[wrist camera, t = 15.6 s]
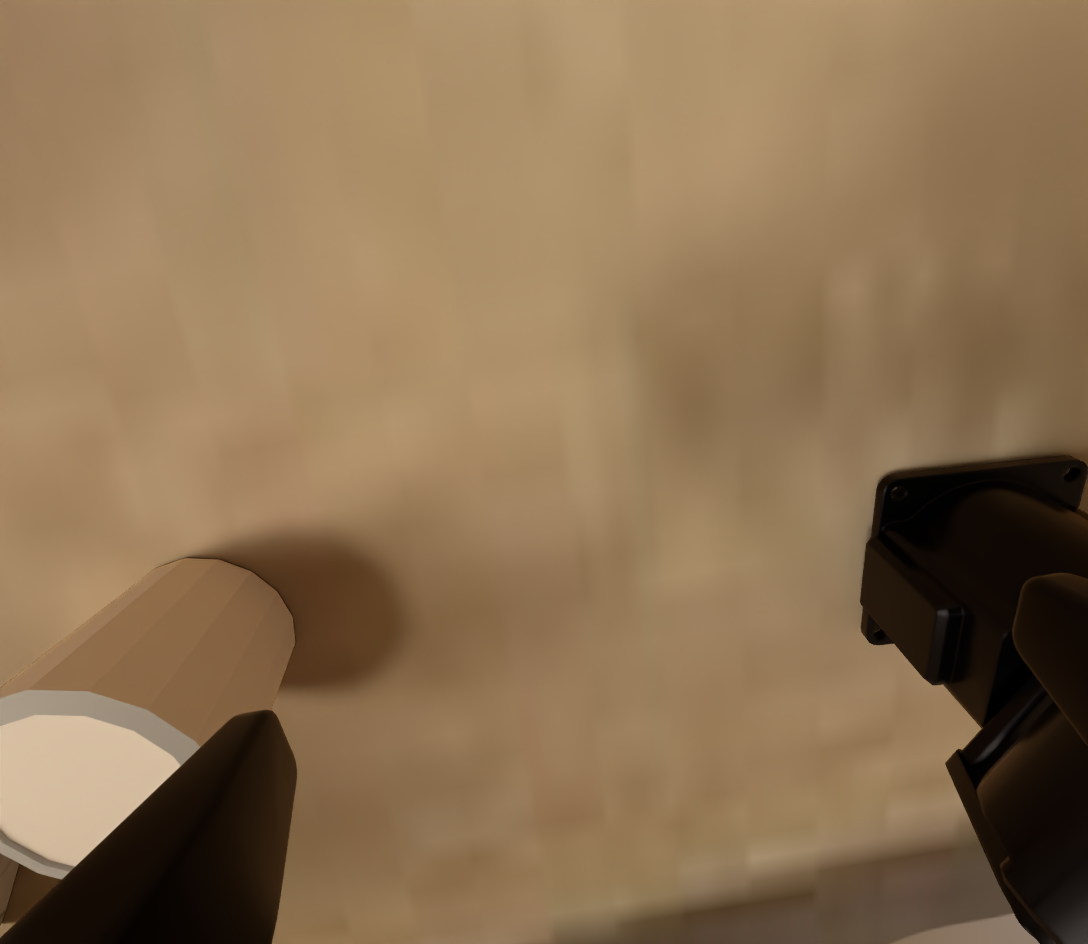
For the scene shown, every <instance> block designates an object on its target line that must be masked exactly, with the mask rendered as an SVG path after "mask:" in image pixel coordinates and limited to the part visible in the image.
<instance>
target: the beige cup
mask: <svg viewBox="0 0 1088 944" xmlns="http://www.w3.org/2000/svg"><path fill="white" fill-rule="evenodd" d="M295 643H296V642H295V634H294V625H293V617H292V615H291V613H290V612H289V610H288V608H287V607H286V605H285V604H284V602H283V600H282V599H281V597H280V595H279V594H278V592H277V591H276V590H274V589H273V588H272V587H271V586H269V585H268V584H267V583H266V582H264V581H263V580H262V579H260V578H259V577H258V576H257V575H255V574H254V573H253V572H251V571H249V570H246V569H243V568H241V567H238V566H235V565H232V564H230V563H227V562H224V561H222V560H219V559H191V558H184V559H181V560H178V561H175V562H172V563H169V564H166V565H163V566H160V567H157V568H155V569H154V570H152V571H151V572H150V573H148V574H147V575H146V576H145V577H143V578H142V579H141V580H139V581H138V582H137V583H136V584H134V585H133V586H132V587H130V588H129V589H128V590H126V591H125V592H124V593H123V594H121V595H120V596H119V597H117V598H116V599H115V600H114V601H112V602H111V603H110V604H108V605H107V606H106V607H104V608H103V609H102V610H101V611H99V612H98V613H97V614H95V615H94V616H93V617H92V618H90V619H89V620H88V621H86V622H85V623H84V624H82V625H81V626H80V627H79V628H77V629H76V630H75V631H73V632H72V633H71V634H70V635H68V636H67V637H66V638H64V639H63V640H62V641H60V642H59V643H58V644H57V645H55V646H54V647H53V648H51V649H50V650H49V651H48V652H46V653H45V654H44V655H42V656H41V657H40V658H38V659H37V660H36V661H35V662H33V663H32V664H31V665H29V666H28V667H27V668H26V669H24V670H23V671H22V672H20V673H19V674H18V675H16V676H15V677H14V678H13V679H11V680H10V681H9V682H7V683H6V684H5V685H4V686H2V687H1V688H0V853H1V854H3V855H4V856H6V857H8V858H10V859H12V860H14V861H16V862H18V863H20V864H21V865H23V866H25V867H27V868H29V869H31V870H33V871H35V872H36V873H38V874H42V875H46V876H50V877H54V878H58V879H63V878H64V877H65V876H66V875H67V874H68V873H69V872H70V871H71V870H72V869H73V868H74V867H75V866H76V865H77V864H78V863H79V862H80V861H81V860H83V859H84V858H85V857H86V856H87V855H88V854H89V853H90V852H91V851H92V850H93V849H94V848H95V847H96V846H97V845H98V844H99V843H100V842H101V841H102V840H104V839H105V838H106V837H107V836H108V835H109V834H110V833H111V832H112V831H113V830H114V829H115V828H116V827H117V826H118V825H119V824H120V823H121V822H122V821H123V820H125V819H126V818H127V817H128V816H129V815H130V814H131V813H132V812H133V811H134V810H135V809H136V808H137V807H138V806H139V805H140V804H141V803H142V802H143V801H144V800H146V799H147V798H148V797H149V796H150V795H151V794H152V793H153V792H154V791H155V790H156V789H157V788H158V787H159V786H160V785H161V784H162V783H163V782H164V781H165V780H167V779H168V778H169V777H170V776H171V775H172V774H173V773H174V772H175V771H176V770H177V769H178V768H179V767H180V766H181V765H182V764H183V763H184V762H185V761H186V760H188V759H189V758H190V757H191V756H192V755H193V754H194V753H195V752H196V751H197V750H198V749H199V748H200V747H201V746H202V745H203V744H204V743H205V742H206V741H207V740H208V739H210V738H211V737H212V736H213V735H214V734H215V733H216V732H217V731H218V730H219V729H220V728H221V727H222V726H223V725H224V724H225V723H226V722H227V721H229V720H230V719H231V718H232V717H234V716H235V715H238V714H242V713H248V712H254V711H259V710H271V709H272V706H273V703H274V700H275V698H276V695H277V692H278V689H279V687H280V684H281V681H282V678H283V676H284V673H285V670H286V667H287V665H288V662H289V659H290V656H291V654H292V651H293V648H294V645H295Z"/></svg>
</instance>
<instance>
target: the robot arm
mask: <svg viewBox="0 0 1088 944" xmlns="http://www.w3.org/2000/svg"><path fill="white" fill-rule="evenodd" d="M1068 469H1070V470H1069V472H1068V473H1067V474H1066V475H1065V476H1064V474H1065V472H1066V471H1067V470H1068ZM1087 473H1088V467H1087V465H1086V463H1084V462H1083V461H1081V460H1079V459H1076V458H1074V457H1072V456H1056V457H1047V458H1037V459H1028V460H1019V461H1009V462H1000V463H990V464H981V465H971V466H962V467H953V468H943V469H934V470H924V471H915V472H905V473H896V474H891V475H888V476H886V477H885V478H883V479H882V480H881V481H880V482H879V484H878V487H877V490H876V499H875V508H874V516H873V525H872V534H871V537H870V539H869V540H868V542H867V544H866V552H865V561H864V570H863V579H862V588H861V598H860V603H861V605H862V606H863V614H862V623H861V632H862V634H863V635H864V636H865V638H866V639H867V640H868V641H869V643H871V644H873V645H884V644H895V645H896V646H897V648H898V649H899V650H900V651H901V652H902V653H903V655H904V656H905V657H906V658H907V659H908V661H909V662H910V663H911V664H912V665H913V666H914V668H915V669H916V670H917V671H918V672H919V674H920V675H921V676H922V677H923V678H924V679H925V680H926V681H928V682H929V683H930V684H932V685H941V684H943V685H944V686H945V687H946V688H947V689H948V691H949V692H950V693H951V694H952V695H953V696H954V697H955V699H956V700H957V701H958V702H959V703H960V704H961V705H962V707H963V708H964V709H965V710H966V711H967V712H968V713H969V715H970V716H971V717H972V718H973V719H974V720H975V721H976V723H977V724H978V725H979V726H980V727H981V728H982V729H981V730H980V731H979V732H978V733H977V734H976V736H975V737H974V738H973V739H972V740H971V741H970V742H969V743H968V744H967V746H966V747H965V748H964V749H963V750H961V749H958V750H956V752H955V753H954V754H953V755H952V756H951V757H950V758H949V759H948V760H947V762H946V763H945V764H946V767H947V769H948V771H949V774H950V776H951V778H952V780H953V783H954V785H955V787H956V789H957V792H958V794H959V796H960V798H961V801H962V803H963V805H964V807H965V810H966V812H967V814H968V816H969V819H970V821H971V823H972V825H973V828H974V830H975V832H976V834H977V837H978V839H979V841H980V843H981V846H982V848H983V850H984V852H985V854H986V857H987V859H988V861H989V863H990V866H991V868H992V870H993V872H994V875H995V877H996V879H997V881H998V884H999V886H1000V887H1001V889H1002V891H1003V893H1004V895H1005V897H1006V899H1007V900H1008V902H1009V904H1010V905H1011V908H1012V910H1013V912H1014V914H1015V916H1016V918H1017V919H1018V921H1019V923H1020V924H1021V925H1022V927H1023V928H1024V929H1025V930H1026V931H1027V932H1028V933H1029V934H1031V935H1032V936H1033V937H1034V938H1035V939H1037V941H1038V942H1039V943H1040V944H1088V514H1087V513H1086V512H1084V511H1082V510H1080V509H1079V505H1080V501H1081V497H1082V493H1083V489H1084V485H1085V481H1086V477H1087ZM897 486H900V488H899V490H898V492H896V493H895V494H893V495H891V491H892V490H893V489H894V488H895V487H897ZM878 628H881V629H880V630H879V631H877V632H874V631H875V630H877V629H878ZM296 780H297V767H296V761H295V757H294V755H293V752H292V750H291V747H290V745H289V743H288V740H287V738H286V736H285V733H284V731H283V729H282V726H281V724H280V722H279V719H278V717H277V716H276V714H275V713H274V712H273V711H271V710H259V711H254V712H248V713H242V714H238V715H235V716H234V717H232V718H231V719H230V720H229V721H227V722H226V723H225V724H224V725H223V726H222V727H221V728H220V729H219V730H218V731H217V732H216V733H215V734H214V735H213V736H212V737H211V738H210V739H208V740H207V741H206V742H205V743H204V744H203V745H202V746H201V747H200V748H199V749H198V750H197V751H196V752H195V753H194V754H193V755H192V756H191V757H190V758H189V759H188V760H186V761H185V762H184V763H183V764H182V765H181V766H180V767H179V768H178V769H177V770H176V771H175V772H174V773H173V774H172V775H171V776H170V777H169V778H168V779H167V780H165V781H164V782H163V783H162V784H161V785H160V786H159V787H158V788H157V789H156V790H155V791H154V792H153V793H152V794H151V795H150V796H149V797H148V798H147V799H146V800H144V801H143V802H142V803H141V804H140V805H139V806H138V807H137V808H136V809H135V810H134V811H133V812H132V813H131V814H130V815H129V816H128V817H127V818H126V819H125V820H123V821H122V822H121V823H120V824H119V825H118V826H117V827H116V828H115V829H114V830H113V831H112V832H111V833H110V834H109V835H108V836H107V837H106V838H105V839H104V840H102V841H101V842H100V843H99V844H98V845H97V846H96V847H95V848H94V849H93V850H92V851H91V852H90V853H89V854H88V855H87V856H86V857H85V858H84V859H83V860H81V861H80V862H79V863H78V864H77V865H76V866H75V867H74V868H73V869H72V870H71V871H70V872H69V873H68V874H67V875H66V876H65V877H64V878H63V879H62V880H61V881H59V882H58V883H57V884H56V885H55V886H54V887H53V888H52V889H51V890H50V891H49V892H48V893H47V894H46V895H45V896H44V897H43V898H42V899H41V900H40V901H38V902H37V903H36V904H35V905H34V906H33V907H32V908H31V909H30V910H29V911H28V912H27V913H26V914H25V915H24V916H23V917H22V918H21V919H20V920H19V921H17V922H16V923H15V924H14V925H13V926H12V927H11V928H10V929H9V930H8V931H7V932H6V933H5V934H4V935H3V936H2V937H1V938H0V944H272V939H273V935H274V930H275V926H276V921H277V915H278V909H279V903H280V897H281V890H282V883H283V875H284V868H285V861H286V853H287V846H288V839H289V832H290V824H291V817H292V810H293V803H294V795H295V788H296Z"/></svg>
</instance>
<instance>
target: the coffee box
mask: <svg viewBox="0 0 1088 944" xmlns="http://www.w3.org/2000/svg"><path fill="white" fill-rule="evenodd" d="M18 867H19V863H18V862H16V861H14V860H12V859H10V858H8V857H6V856H4V855H3V854H1V853H0V925H1V923H2V920H3V917H4V914H5V911H6V908H7V904H8V901H9V897H10V894H11V891H12V887H13V883H14V880H15V877H16V874H17V870H18Z"/></svg>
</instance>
